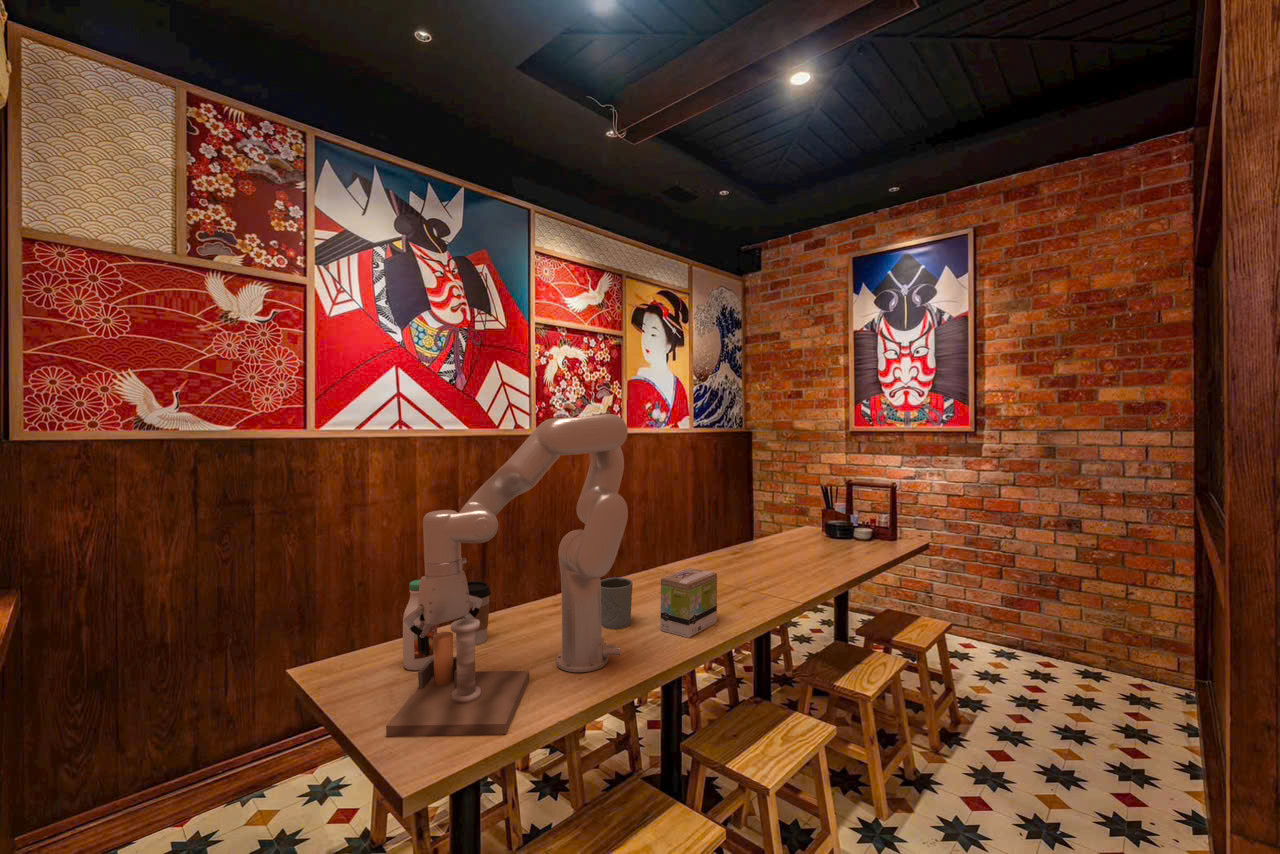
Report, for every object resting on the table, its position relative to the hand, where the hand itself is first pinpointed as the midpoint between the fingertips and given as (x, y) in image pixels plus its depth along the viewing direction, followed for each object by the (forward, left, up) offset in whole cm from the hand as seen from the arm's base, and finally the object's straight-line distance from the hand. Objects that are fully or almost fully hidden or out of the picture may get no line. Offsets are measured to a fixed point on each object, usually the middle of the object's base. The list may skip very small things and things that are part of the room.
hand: (446, 646), depth 118 cm
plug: (+1, 0, -7) cm, 7 cm away
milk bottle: (+11, -13, -10) cm, 20 cm away
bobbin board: (-6, +7, -9) cm, 13 cm away
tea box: (-56, -35, -10) cm, 67 cm away
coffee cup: (+2, -27, -10) cm, 29 cm away
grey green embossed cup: (-35, -38, -10) cm, 53 cm away
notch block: (+1, 0, -7) cm, 7 cm away
